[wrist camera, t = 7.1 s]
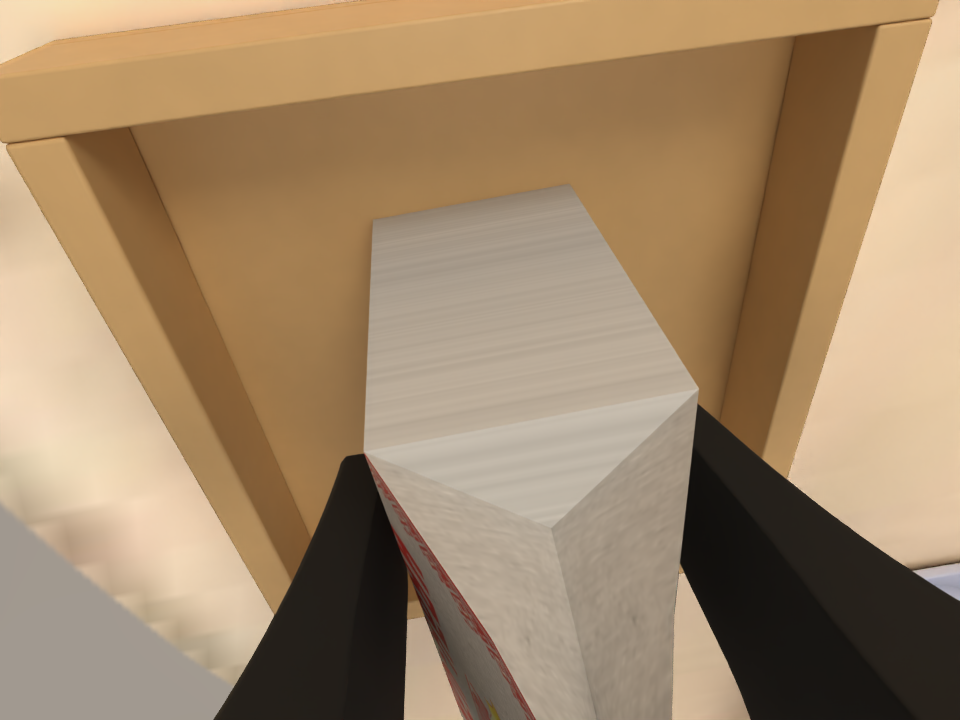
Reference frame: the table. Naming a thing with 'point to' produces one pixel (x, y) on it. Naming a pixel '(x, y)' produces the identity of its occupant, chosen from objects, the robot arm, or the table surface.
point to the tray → (452, 199)
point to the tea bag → (530, 455)
